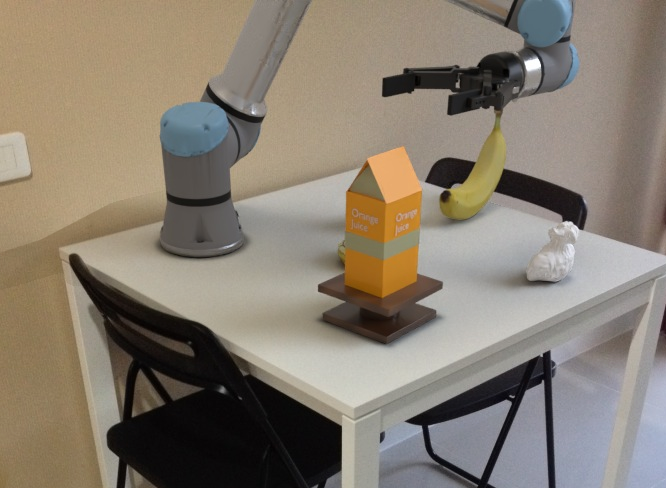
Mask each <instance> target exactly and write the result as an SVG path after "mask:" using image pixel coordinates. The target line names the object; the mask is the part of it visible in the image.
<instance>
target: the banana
mask: <svg viewBox="0 0 666 488" xmlns="http://www.w3.org/2000/svg"><path fill="white" fill-rule="evenodd" d="M493 113H494V114H495V118H494V119H495V120H494V125H493V128H492V130H491V132H490V134H489V135H488V136H487V137H486V139H485V141H484V142H483V145H482V147H481V148H480V151H479V154H478V156H477V158H476V162H475V163H474V166H473V168H472V169H471V171H470V173H469V174H468V177H467V178H466V179H465V180H464V182H463V183H461V185H459V186H457V187H455V188H446V189H444V190H443V191H442V192H441V193H440V195H439V198H438V202H439V209H440V211H441V214H442V215H443V216H445V217H446V218H449V219H452V220H456V221H457V220H458V221H462V220H467V219H470V218H471V217H473V216H475V215H476V214H477V213H479V212H481V210H482V209H484V208H485V206H486V205H487V204H488V202H489V201H490V199H491V198H492V196H493V194H494V193H495V190H496V189H497V186H498V184H499V182H500V180H501V177H502V174H503V172H504V168H505V164H506V160H507V159H506V158H507V144H506V139H505V137H504V135H503V132H502V128H501V119H502V115H503V114H504V108H503V109H502V110H500V111H496V110H494V109H493Z"/></svg>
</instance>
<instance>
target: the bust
mask: <svg viewBox="0 0 666 488" xmlns="http://www.w3.org/2000/svg"><path fill="white" fill-rule="evenodd" d="M547 235H548V237H549V239H550V241H549V242H548V243H546V244H544V245H542V248H541V249H540V250H539V251H538V252H537V253H535V254H533V256H532V258H531V259H530V261H529V263H528V264H527V267H526V278H527V280H528V281H530V282H534V281H544V282H545V281H546V282H554V283H555V282H559V281H561V280H563V279H565V278H566V277H568V275H569V274H570V272H571V271H572V269H573V267H574V263H575V262H574V261H575V254H576V250H575V247H574V245H575V244H576V243H577V242H578V239H579V236H580V230H579V227H578V226H577V225H576V224H574V222H573V221H569V220H565V221H562V222H559V223H558V224H557V226H553V227H551V228H550V229H548V231H547Z"/></svg>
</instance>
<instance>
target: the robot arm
mask: <svg viewBox="0 0 666 488" xmlns="http://www.w3.org/2000/svg"><path fill="white" fill-rule="evenodd" d="M444 1H445V2H447V3H449V4H452V5H454V6H457V7H459V8H460V9H463V10H465V11H468V12H470V13H472V14H474V15H477V16H479V17H482V18H483V19H486V20H488V21H490V22H492V23H496V24H497V25H499V26H502V27H503V28H506V29H508V30H509V31H511V32H513V33H516V34H519V35H520V36H521V37H522V38H523V47H518V48H517V47H516V48H512V49H506V50H504V51H498V52H493V53H489V54H487V55H484V56H483V57H481V59H480V60H479V62H478V64H476V66H468V67H461V66H460V65H458V64H454V65H446V66H428V67H425V66H423V67H405V68H402V73H399V74H395V75H389V76H385V77H382V79H381V80H382V82H381V83H382V85H381V97H382V98H390V97H395V96H398V95H403V94H404V95H405V94H409V95H412V93H413V92H415V90H450V92H451V94H448V95H447V96H448V97H447V111H446V115H447V116H455V115H459V114H460V115H461V114H464V113H467V112H472V111H476V110H480V109H484V110H489V109H490V108H491V107H493V111H494V110H496V111H500V110H502V109H503V110H504V108H505V107H506V106H507V105H508V104H509V103H510V102H512V103H517V102H518V100H519V99H522V98H527V97H531V96H536V95H540V94H545V93H553V92H555V91H558V90H561V89H562V88H565V87H567V86H569V85H570V84H571V83H572V82H573V81H574V80H575V78H576V77H577V75H578V72H579V68H580V59H579V56H578V50H577V48H576V47H575V46H574V44H572V43H571V35H572V34H571V33H572V27H573V23H574V22H573V21H574V15H575V10H576V9H575V8H576V2H577V0H444ZM312 2H313V0H254V2H253V4H252V6H251V9H250V10H249V13H248V15H247V17H246V20H245V21H244V24H243V26H242V28H241V30H240V33H239V35H238V37H237V39H236V41H235V44H234V46H233V49H232V51H231V52H230V55H229V57H228V58H227V62H226V64H225V66H224V68H223V71H222V73H220V74H216V75H212V76H211V77H210V78H209V80H208V82H207V84H206V87H205V89H204V90H203V94H202V96H201V98H200V99H199V101H188V102H184V103H182V104H176V105H174V106H172V107H169V108H168V109H167V110H166V111H164V113H163V114H162V115H161V117H160V122H159V127H160V128H159V141H160V146H161V155H162V166H163V175H164V185H165V195H166V207H165V211H164V217H163V223H162V226H161V228H160V233H159V239H160V245H161V247H162V249H164V250H165V251H167V252H169V253H170V254H174V255H178V256H181V257H191V258H206V257H207V258H209V257H217V256H223V255H226V254H229V253H231V252H234V251H237V250H238V249H240V248H241V247H242V246H243V244H244V241H245V240H244V230H243V227H242V224H241V223H240V221H239V218H240V216H239V213H238V211H237V210H236V209H235V206H234V202H233V200H232V183H231V182H232V181H231V169H232V167H233V166H234V165H236V164H237V163H238V162H239V161H240V160H241V159H243V158H245V157H246V156H247V155H249V153H251V151H253V149H254V148H255V147H256V144H257V142H258V140H259V137H260V135H261V130H262V123H263V122H264V120H265V117H266V115H267V113H268V106H267V103H266V100H265V98H266V96H267V94H268V92H269V90H270V88H271V87H272V85H273V82H274V80H275V78H276V76H277V73H278V72H279V70H280V68H281V65H282V64H283V62H284V59H285V57H286V55H287V52H289V49H290V47H291V45H292V43H293V42H294V39H295V37H296V35H297V33H298V30H299V29H300V27H301V25H302V23H303V21H304V18H305V17H306V14H307V13H308V10H309V9H310V6H311V4H312ZM457 83H458V87H457ZM452 93H453V94H452Z"/></svg>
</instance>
